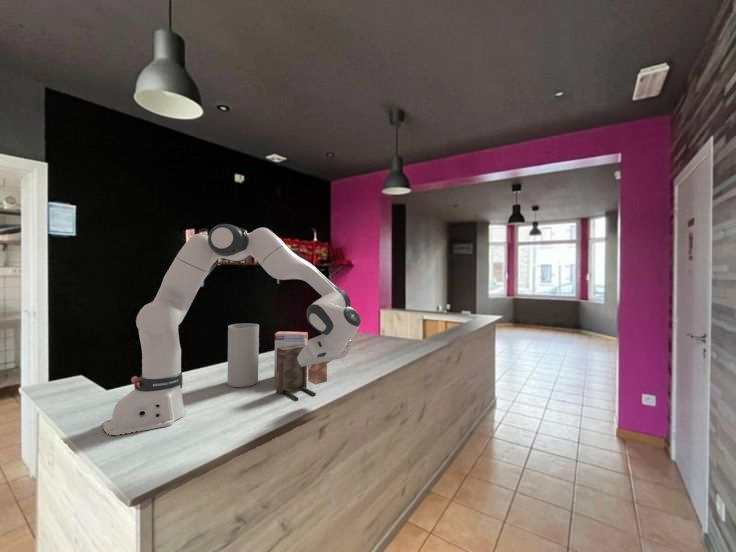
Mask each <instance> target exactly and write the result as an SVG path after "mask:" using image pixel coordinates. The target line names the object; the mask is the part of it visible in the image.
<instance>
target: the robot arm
mask: <svg viewBox="0 0 736 552" xmlns="http://www.w3.org/2000/svg"><path fill="white" fill-rule="evenodd" d="M251 257H252V258H254V259H255V260H256V261H257V263H258V264H259V265H260V266H261V267H262V268H263V270H264V271H265V272H266V273H267V274H268V275H269V276H271V277H272V278H274V279H277V280H280V281H281V280H282V281H284V280H285V281H286V280H301V281H304V282H306V283H307V284H308V285H309V286H311V287H312V288H313V289H314V290H315V291H316V292H317V293H318V294H319V295H320V296H321V297H320V298H318V299H316V300H315V301H314V302H313V303H312V304H311V303H310V305H309V306H308V307H307V309H306V318H307V321H308V323H309V325H310V326H311V327H312V328H313V329H315V330H316V331H318V332H319V333H321V334H320V335H318V336H315V337H312V338H309V339H308V341H307V344H308V345H306V346H305V347H304V348H303V349H302V350H301V352H300V353H299V355H298V357H297V359H298V362H299V364H300V366H302V367H303V366H307V370H308V369H311V368H313V366H314V365H313V364H317V363H322V362H326V361H327V365H328V364H329V363H330V362H332V361H335V360H340V359H344V358H345V357H347V356H348V354H349V353H350V352H351V347H352V346H353V344H354V341H353V338H355V335H357V333H358V331H359V328H360V326H361V321H362V320H361V316H360V314H359V311H357V310H356V309H355V308H354V307H351V300H350V296H349V295H348V293H347V292H345V290H344V289H342V288H340V287H338V285H335V284H334V283H333V282H332V281H331V280H329V279H328V278H327V277H326V276H325V275H324V274H323V273H322V272H321V271H320V270H319V269H318V268H317V267H316V266H314V265H313V264H312V263H311V262H309V261H308V260H306V259H304V258H303V257H300V256H299V255H297V253H295V252H293V251H292V249H290V247H288V246H287V245H286V243H285V242H284V241H283V240H282V239H281V238H280V237H279V236H278V235H276V234H275V233H274V232H273V231H272V230H270V229H269V228H267V227H259V228H256V229H254V230H253V231H251V232H248V231H247V230H246V229H244V228H241V227H238V226H235V225H233V224H228V223H221V224H216V225H215V226H214V227H212V228H211V229H210V231H209V233H208V235H207V234H203V233H196V234H193V235H191V237H190V238H189V239H188V240H187V241H186V242H185V243H184V245H183V246H182V248H181V249H180V250H179V251H178V252H177V254H176V257H175V258H174V259H173V261H172V262H171V265H170V266H169V267H168V268H169V269H167V272H166V273H165V275H164V276H163V279H162V282H161V285H160V287H159V289H158V291H157V294H156V296H155V297H154V300H152V301H151V302H149V303H147V304H145V305H144V306H143V307H142V308H141V309H140V310H139V312H138V314H137V316H136V319H135V322H136V323H135V324H136V327H137V330H138V335H139V341H140V346H141V347H140V348H141V353H142V354H141V356H142V357H141V358H142V359H141V364H142V365H141V366H142V367H141V370H142V371H141V373H142V374H141V375H140V376H139V377H138V376H136V375H135V376H132V378H131V379H130V381H131V383H132V384H133V385H134V389H133V390H132V391H130V392H129V393H128V394H126V395H125V396H124V397H123V398H121V399H120V400H118V401H117V402H116V404H115V406H114V409H113V411H112V416H110V417H108V418H107V419H105V420H104V421H103V426H102V430H103V429H104V430H103V432H104V431H105V432H106V433H107V434H106V433H105V432H104V433H105V434H106V435H108V434H109V435H108V436H111V435H117V436H121V435H120V434H122V435H126V434H125V433H127V434H132V433H131V432H133V433H137V432H136V431H138V432H143V431H148V430H154V429H159V428H164V427H169V426H171V425H172V424H174V423H175V421H177V420H179V419H181V418H182V417H184V416H185V414H186V413H187V411H186V408H185V404H184V400H183V393H182V392H183V391H182V388H183V379H184V378H183V377H184V376H183V372H182V348H181V344H180V335H179V325H181V323H182V322H183V320H184V318H185V316H186V315H187V313H188V312H189V309H190V307H191V305H192V303H193V301H194V299H195V297H196V295H197V293H198V291H199V290H200V288H201V286H202V284H203V283H204V281H205V279H206V278H207V275H208V274H209V272H210V271H211V269H212V267H213V265H214V264H215V262H216V261H217V260H219V259H220V260H223V261H230V262H234V263H241V262H245V261H247V260H248V259H250V258H251Z"/></svg>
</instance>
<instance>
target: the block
mask: <svg viewBox="0 0 736 552" xmlns="http://www.w3.org/2000/svg"><path fill="white" fill-rule="evenodd" d="M313 365H314V366H313V368H311V369H308V368H307V381H308V382H309V383H311V384H314V385H320V384H323V383H326V382H327V381H328V364H327V361H326V362H322V363H317V364H313Z"/></svg>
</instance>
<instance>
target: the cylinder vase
mask: <svg viewBox="0 0 736 552" xmlns="http://www.w3.org/2000/svg"><path fill="white" fill-rule="evenodd" d="M227 328H228V329H227V386H229V387H232V388H246V387H251V386H254V385H255V384H257V383H258V381H259V353H260V352H259V350H260V349H259V347H260V337H259V336H260V324H258V323H234V324H229V325H228V327H227Z"/></svg>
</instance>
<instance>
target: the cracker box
mask: <svg viewBox="0 0 736 552" xmlns="http://www.w3.org/2000/svg"><path fill="white" fill-rule="evenodd" d="M308 338H309V333H308V332H307V331H305V332H304V331H282V330H281V331H277V332H275V333H274V379H276V380H277V348H280V347H287V346H293V345H300V344H304V345H308V344H307V341H308V340H309V339H308Z"/></svg>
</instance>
